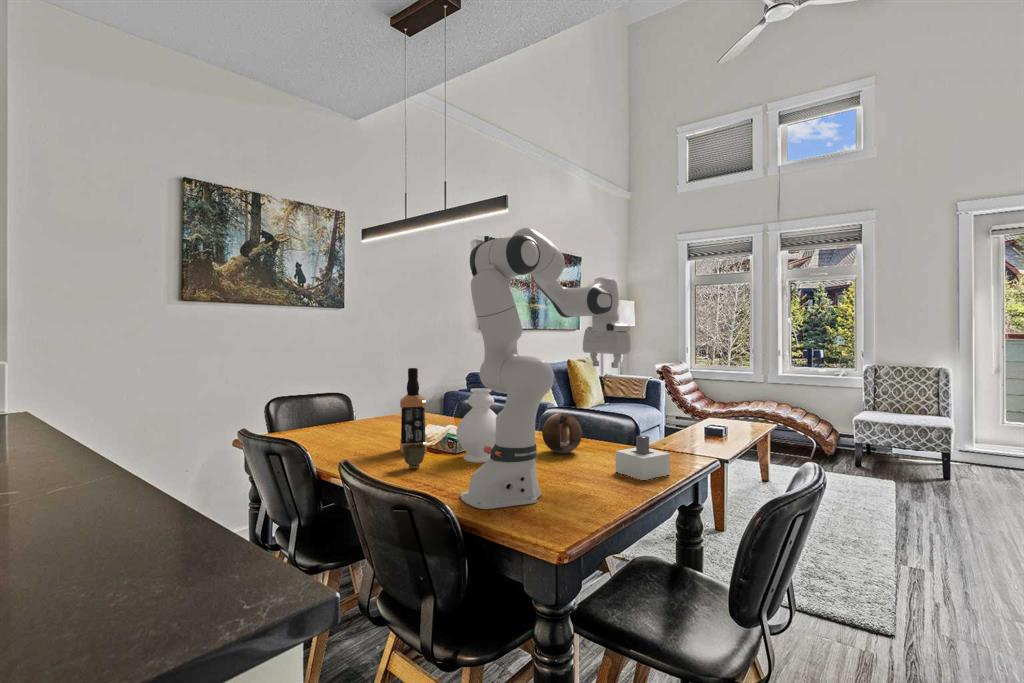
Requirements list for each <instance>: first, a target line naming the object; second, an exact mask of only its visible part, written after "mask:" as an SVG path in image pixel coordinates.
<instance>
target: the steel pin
mask: <svg viewBox="0 0 1024 683" xmlns="http://www.w3.org/2000/svg"><path fill="white" fill-rule="evenodd" d="M635 438H636V439H635V440H636V441H635V442H636V443H635V444H636V446H635V448H636V453H637V454H641V455H646V454H649V448H650V436H648V435H636V437H635Z"/></svg>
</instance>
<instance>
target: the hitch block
mask: <svg viewBox="0 0 1024 683" xmlns="http://www.w3.org/2000/svg"><path fill="white" fill-rule="evenodd" d="M616 472H618V473H617V474H619V473H621V474H620V475H622V474H625V475H628V476H627V477H629V476H631V477H630V478H632V477H635V478H638V479H641V480H646V479H650V478H655V477H660V476H665V475H671V453H669V452H666V451H662V450H658V449H657V450H656V449H653V448H650V447H649V454H646V455H641V454H637V453H636V447H632V448H631V447H630V448H625V449H620V450H619V449H618V450H615V473H616ZM625 475H624V476H625ZM665 477H666V476H665ZM635 478H634V479H635ZM638 479H637V480H638ZM641 480H640V481H641Z"/></svg>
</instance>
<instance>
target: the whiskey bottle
mask: <svg viewBox="0 0 1024 683" xmlns="http://www.w3.org/2000/svg"><path fill="white" fill-rule="evenodd" d="M418 371H419V369H418V368H417V367H409V368H408V369H407V379H408V380H407V382H406V383H407V384H406V394H405V395H404V396H403V397H402V398H400V400H399V403H400V404H399V407H400V408H401V416H400V417H401V418H400V419H401V421H400V423H401V425H400V428H401V429H400V431H401V432H400V440H399V455H401V456H402V455H403V456H404V454H403V445H404V444H405V445H406V446H407V444H408V445H410V443H411V444H413V443H414V444H415V445H417V443H418V444H420V443H422V444H424V446H425V453H424V455H425V454H427V453H428V451H427V450H428V448H427V440H426V414H425V413H426V412H425V408H426V407H427V401H426V398H424V397H423V396H422V395H420V393H419V392H420V383H419V379H418V377H419V376H418V374H419V372H418Z"/></svg>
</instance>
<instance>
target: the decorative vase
mask: <svg viewBox="0 0 1024 683" xmlns="http://www.w3.org/2000/svg"><path fill="white" fill-rule="evenodd" d="M470 392H471V393H472V394H471V395H470V396H469V397H468V399H467V402H468V405H469V406H470V407H471V409H470V410H469V411H468V412H467V413H466V414H465V415H464V416H463V418H461V420H460V421H459V423H458V425H457V427H456V430H455V431H456V434H455V436H456V440H457V442H458V443H459V444H460V446H461V447H462V448H463V450H464V451H465V452H466V453H467V454H464V456H463V460H464V461H465V462H471V463H485V462H487V461H488V460H489V459H490V455H491V453H490V454H487V453H484V451H485V450H483V448H486V447H485V446H489V447H491V448H493V447H494V445H495V443H496V417H497V415H498V414H496V412H494V411H493V410H492V409H491V406H492V405H493V404H494V402H495V398H494V397H493V396H492V395H491V394H490V393H491V392H492V390H491V389H489V388H487V387H485V388H484V387H482V388H476V387H475V388H471V389H470Z"/></svg>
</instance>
